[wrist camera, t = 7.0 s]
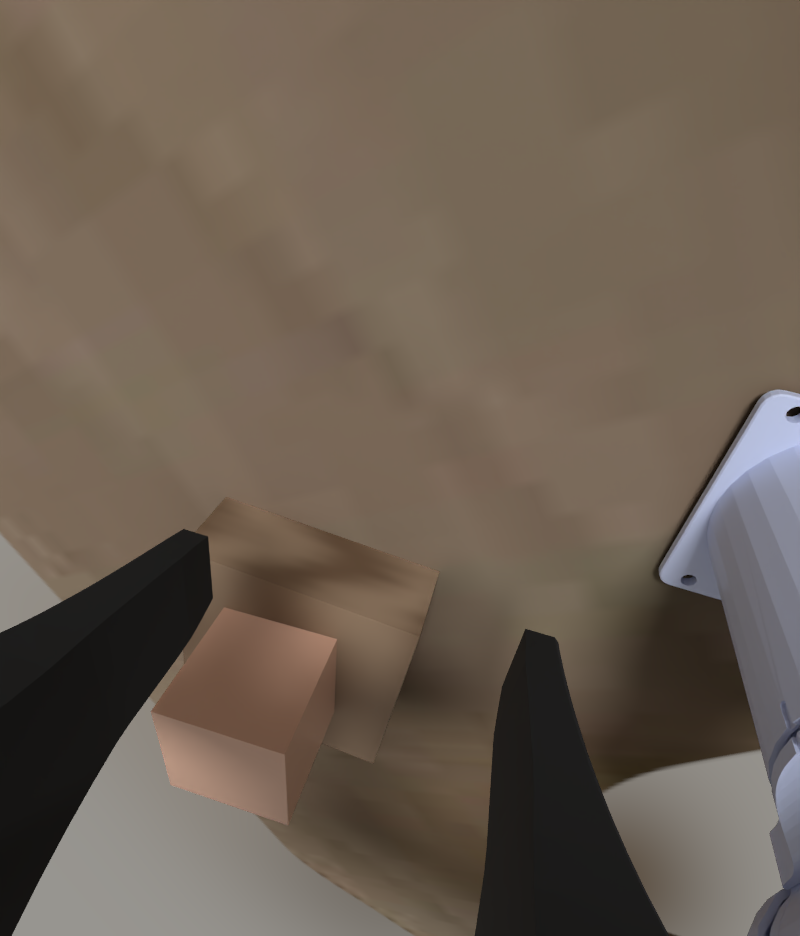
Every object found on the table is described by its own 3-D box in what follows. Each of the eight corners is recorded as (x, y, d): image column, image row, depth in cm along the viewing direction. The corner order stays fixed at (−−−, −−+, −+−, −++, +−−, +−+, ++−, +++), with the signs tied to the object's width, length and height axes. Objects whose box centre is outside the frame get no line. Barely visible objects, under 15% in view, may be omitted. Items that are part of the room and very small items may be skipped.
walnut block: (441, 565, 25) (419, 636, 22) (395, 692, 31) (373, 763, 28) (230, 491, 26) (180, 549, 23) (225, 628, 32) (184, 690, 29)
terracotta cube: (337, 639, 23) (284, 755, 19) (334, 711, 26) (288, 825, 22) (223, 607, 24) (150, 711, 20) (233, 680, 27) (170, 785, 23)
